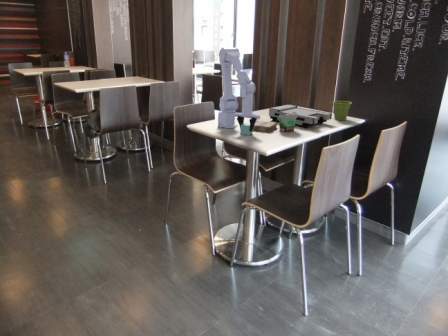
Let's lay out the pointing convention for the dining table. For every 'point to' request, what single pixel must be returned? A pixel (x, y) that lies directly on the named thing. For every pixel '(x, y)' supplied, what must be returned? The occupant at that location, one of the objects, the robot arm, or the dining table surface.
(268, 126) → the walnut base
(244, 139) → the dining table surface
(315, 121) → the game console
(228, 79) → the robot arm
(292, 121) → the food container
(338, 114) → the plant pot
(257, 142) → the dining table surface
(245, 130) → the teal cube
